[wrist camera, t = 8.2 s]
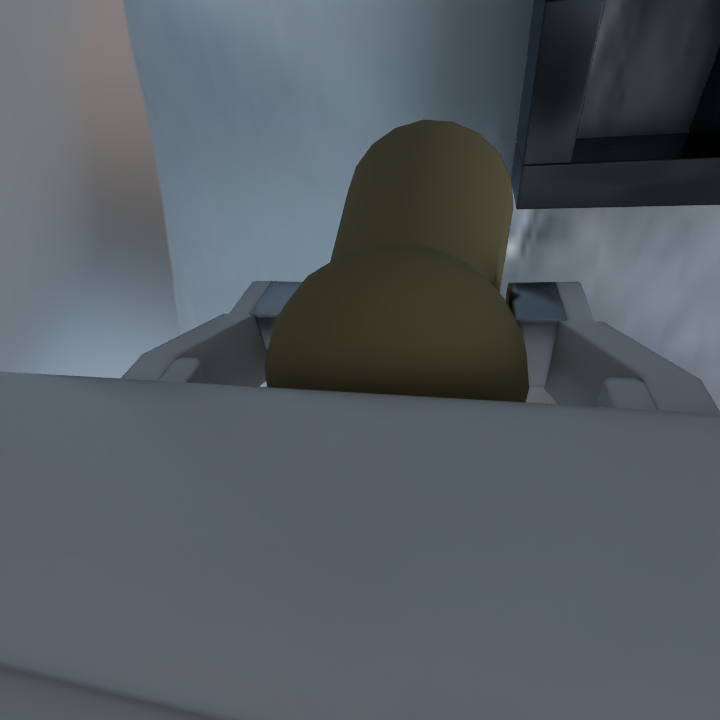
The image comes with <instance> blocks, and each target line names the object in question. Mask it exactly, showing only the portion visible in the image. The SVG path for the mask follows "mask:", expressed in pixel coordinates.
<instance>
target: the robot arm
mask: <svg viewBox="0 0 720 720" xmlns="http://www.w3.org/2000/svg"><path fill="white" fill-rule="evenodd" d="M302 283H303V282H287V281H274V282H273V281H255V282H252V284H251V285H250V286H249V288H248V289H247V290H246V292H245V293H244V294H243V296H242V297H241V299H240V300H239V301H238V303H237V304H236V305H235V307H234V308H233V309H232V311H231V312H230V313H229V314H222V315H220V316H218V317H216V318H214V319H212V320H210V321H208V322H206V323H204V324H202V325H200V326H198V327H196V328H194V329H192V330H190V331H188V332H186V333H184V334H182V335H180V336H178V337H176V338H174V339H172V340H170V341H168V342H166V343H164V344H162V345H160V346H159V347H156V348H154V349H152V350H150V351H148V352H146V353H144V354H143V355H141V356H140V358H139V359H138V360H137V361H136V362H135V363H134V364H133V365H132V366H131V368H130V369H129V370H128V371H127V372H126V373H125V375H123V377H122V378H121V379H118V378H117V379H116V378H101V377H83V376H66V375H49V374H32V373H16V372H15V373H14V372H0V720H720V411H719V410H718V408H717V406H716V404H715V403H714V401H713V399H712V398H711V396H710V394H709V392H708V391H707V389H706V387H705V386H704V384H703V382H702V380H701V379H699V378H697V377H695V376H694V375H692V374H690V373H689V372H687V371H685V370H684V369H682V368H680V367H679V366H677V365H675V364H673V363H672V362H670V361H668V360H667V359H665V358H663V357H662V356H660V355H658V354H657V353H655V352H653V351H651V350H650V349H648V348H646V347H645V346H643V345H641V344H640V343H638V342H636V341H635V340H633V339H631V338H630V337H628V336H626V335H624V334H623V333H621V332H619V331H618V330H616V329H614V328H613V327H611V326H609V325H608V324H606V323H604V322H596V321H595V319H594V316H593V313H592V311H591V308H590V306H589V303H588V301H587V298H586V295H585V293H584V290H583V288H582V285H581V283H579V282H578V281H577V282H534V283H509V284H508V288H507V294H506V303H507V305H508V307H509V308H510V310H511V312H512V314H513V316H514V318H515V320H516V322H517V323H518V325H519V327H520V329H521V331H522V333H523V337H524V342H525V347H526V352H527V365H528V378H529V386H534V387H544V389H545V390H546V391H547V392H548V393H549V395H550V396H551V397H552V398H553V399H554V400H555V401H556V402H557V403H558V404H543V403H526V402H509V401H491V400H474V399H457V398H440V397H423V396H406V395H389V394H372V393H355V392H338V391H321V390H304V389H287V388H270V387H259V386H260V385H261V384H263V383H264V382H265V381H266V375H265V369H264V366H265V361H266V356H267V350H268V346H269V342H270V339H271V335H272V331H273V327H274V324H275V320H276V318H277V316H278V315H279V313H280V312H281V310H282V309H283V307H284V305H285V304H286V303H287V301H288V300H289V299H290V298H291V296H292V295H293V294H294V293H295V291H296V290H297V289H298V288H299V286H300V285H301V284H302Z"/></svg>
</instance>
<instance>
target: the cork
mask: <svg viewBox="0 0 720 720" xmlns="http://www.w3.org/2000/svg"><path fill="white" fill-rule="evenodd" d="M512 212H513V195H512V182H511V178H510V175H509V173H508V171H507V169H506V167H505V164H504V162H503V160H502V158H501V156H500V154H499V153H498V152H497V151H496V150H495V149H494V148H493V147H492V146H491V145H490V144H489V143H488V142H487V141H486V140H485V139H484V138H483V137H482V136H481V135H480V134H479V133H477V132H475V131H473V130H470V129H468V128H466V127H464V126H461V125H459V124H457V123H455V122H450V121H435V120H421V121H418V122H414V123H411V124H407V125H404V126H400V127H397V128H395V129H393V130H392V131H391V132H389V133H388V134H386V135H385V136H384V137H382V138H381V139H379V140H378V141H376V142H375V143H374V144H372V146H371V147H370V148H369V150H368V151H367V152H366V154H365V155H364V157H363V158H362V159H361V161H360V162H359V163H358V165H357V166H356V169H355V172H354V175H353V178H352V181H351V184H350V187H349V190H348V194H347V198H346V202H345V206H344V210H343V214H342V218H341V222H340V226H339V230H338V234H337V238H336V242H335V245H334V249H333V253H332V257H331V261H330V263H328V264H327V265H325V266H323V267H321V268H320V269H318V270H317V271H315V272H314V273H312V274H310V275H309V276H307V278H306V279H305V280H304V281H303V283H302V284H301V285H300V286H299V288H298V289H297V290H296V291H295V293H294V294H293V295H292V296H291V298H290V299H289V300H288V301H287V303H286V304H285V305H284V307H283V309H282V310H281V312H280V313H279V315H278V316H277V318H276V320H275V324H274V327H273V331H272V335H271V339H270V342H269V346H268V350H267V356H266V361H265V366H264V369H265V375H266V382H267V387H270V388H287V389H304V390H321V391H338V392H355V393H372V394H389V395H406V396H423V397H440V398H457V399H474V400H491V401H509V402H526V399H527V394H528V390H529V378H528V365H527V352H526V347H525V342H524V337H523V333H522V331H521V329H520V327H519V325H518V323H517V322H516V320H515V318H514V316H513V314H512V312H511V310H510V308H509V307H508V305H507V303H506V301H505V299H504V298H503V297H502V295H501V294H500V293H499V292H500V286H501V280H502V274H503V268H504V261H505V255H506V249H507V243H508V237H509V231H510V225H511V218H512Z"/></svg>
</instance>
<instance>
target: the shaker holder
mask: <svg viewBox="0 0 720 720" xmlns="http://www.w3.org/2000/svg"><path fill="white" fill-rule="evenodd" d="M604 4H605V0H534V5H533V12H532V20H531V28H530V36H529V44H528V52H527V60H526V68H525V76H524V83H523V91H522V99H521V107H520V115H519V123H518V131H517V139H516V147H515V155H514V162H513V170H512V178H511V182H512V189H513V194H514V199H515V204H516V209H548V208H592V207H636V206H680V205H720V47H719V50H718V52H717V55H716V58H715V61H714V63H713V66H712V69H711V72H710V74H709V77H708V80H707V83H706V85H705V88H704V91H703V94H702V96H701V99H700V102H699V105H698V107H697V110H696V113H695V116H694V118H693V121H692V124H691V126H690V129H689V133H677V134H658V135H640V136H621V137H602V138H583V139H576V137H577V132H578V127H579V123H580V118H581V113H582V108H583V104H584V99H585V94H586V89H587V85H588V80H589V75H590V70H591V66H592V61H593V56H594V51H595V47H596V42H597V37H598V32H599V28H600V23H601V18H602V13H603V9H604Z"/></svg>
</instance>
